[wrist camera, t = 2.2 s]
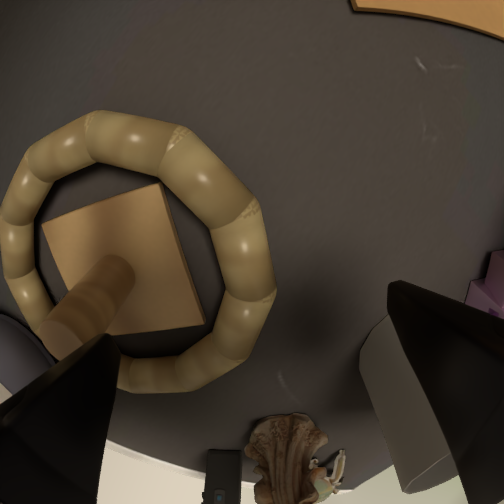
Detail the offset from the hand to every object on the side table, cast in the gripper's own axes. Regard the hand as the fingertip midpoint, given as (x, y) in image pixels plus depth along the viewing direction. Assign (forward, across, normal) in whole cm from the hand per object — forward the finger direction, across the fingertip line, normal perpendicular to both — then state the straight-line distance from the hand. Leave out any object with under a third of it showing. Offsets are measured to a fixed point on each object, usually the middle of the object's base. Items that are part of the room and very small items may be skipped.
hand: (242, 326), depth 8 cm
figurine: (+7, 0, +17) cm, 18 cm away
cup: (+7, -10, +10) cm, 16 cm away
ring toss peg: (+7, +7, 0) cm, 10 cm away
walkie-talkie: (+7, +7, +22) cm, 24 cm away
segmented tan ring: (+5, +7, 0) cm, 9 cm away
